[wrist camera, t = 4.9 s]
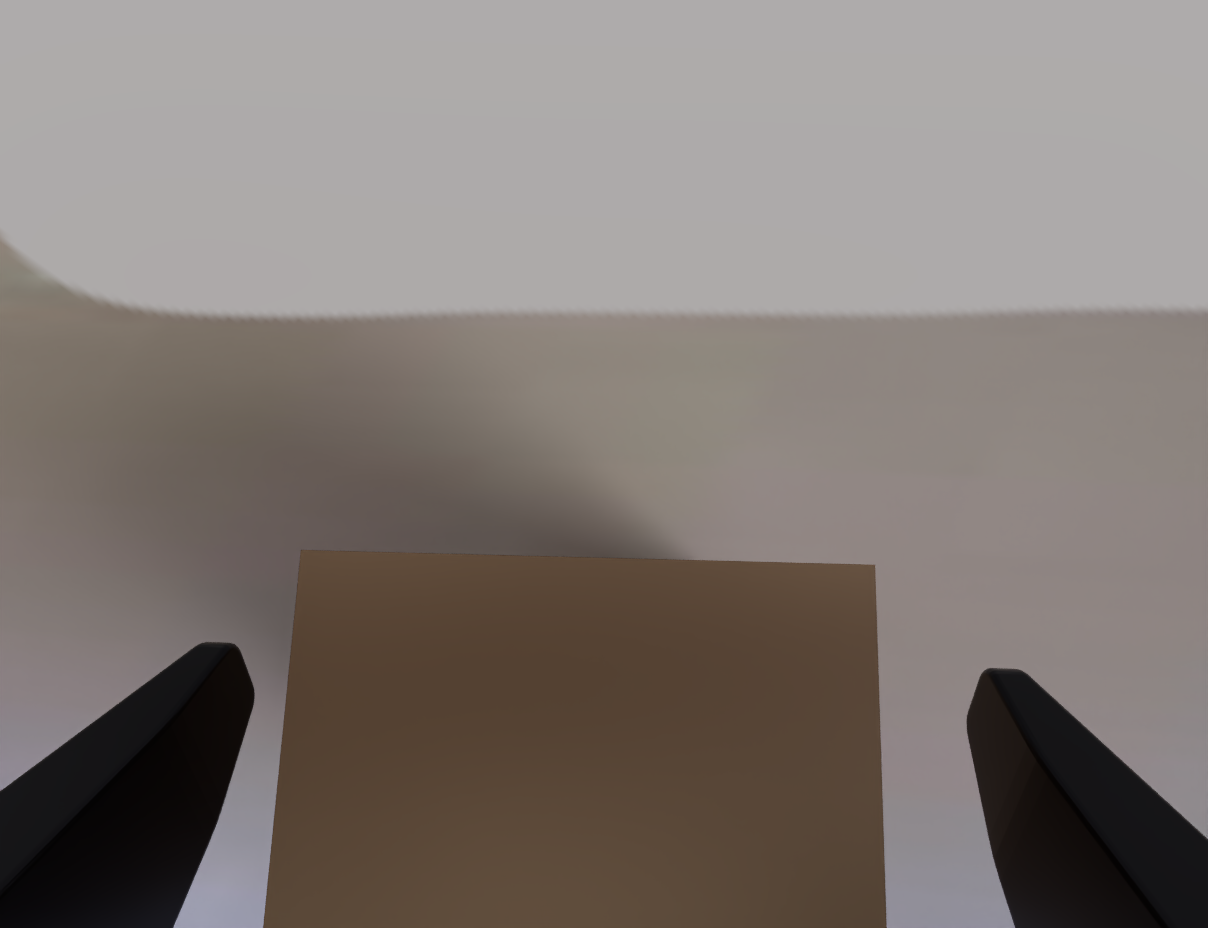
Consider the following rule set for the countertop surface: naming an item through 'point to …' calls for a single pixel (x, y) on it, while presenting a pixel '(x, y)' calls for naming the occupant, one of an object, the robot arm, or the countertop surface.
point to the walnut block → (579, 745)
